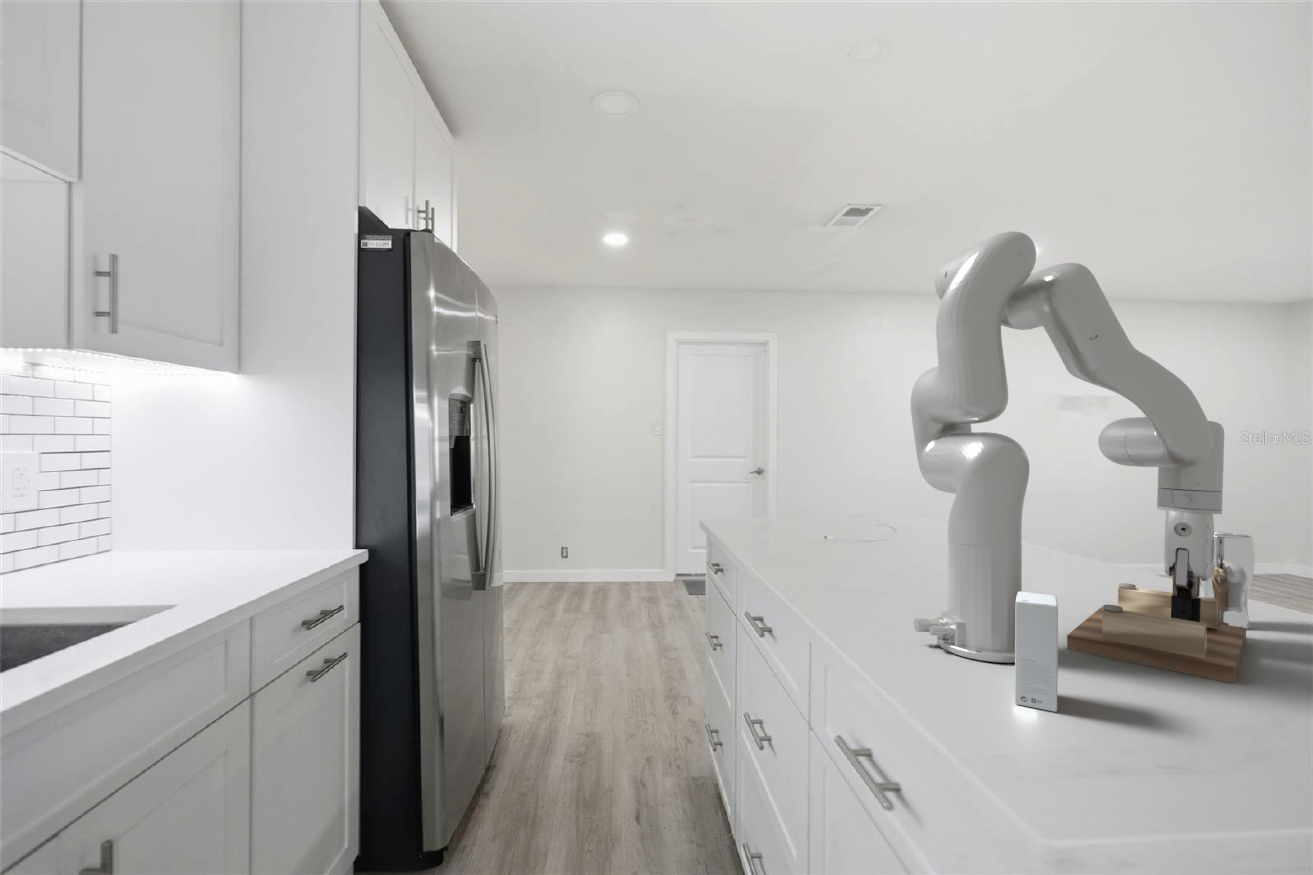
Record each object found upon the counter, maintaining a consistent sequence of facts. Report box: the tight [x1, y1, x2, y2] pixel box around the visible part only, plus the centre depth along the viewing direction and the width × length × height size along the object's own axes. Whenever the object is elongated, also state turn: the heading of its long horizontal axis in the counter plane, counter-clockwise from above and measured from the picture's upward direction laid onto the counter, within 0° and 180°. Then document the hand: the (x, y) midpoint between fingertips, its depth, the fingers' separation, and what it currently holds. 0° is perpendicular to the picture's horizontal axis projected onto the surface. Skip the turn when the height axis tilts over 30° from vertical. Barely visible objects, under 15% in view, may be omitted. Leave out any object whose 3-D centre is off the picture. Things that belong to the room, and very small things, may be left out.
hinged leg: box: [1117, 582, 1218, 629], centre depth 99 cm, size 12×3×5 cm, turn 46°
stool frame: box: [1066, 604, 1247, 684], centre depth 93 cm, size 24×18×7 cm
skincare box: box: [1014, 591, 1059, 713], centre depth 73 cm, size 6×4×12 cm
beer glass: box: [1200, 531, 1255, 631], centre depth 104 cm, size 7×7×15 cm
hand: (1185, 622), depth 94 cm, fingers closed
